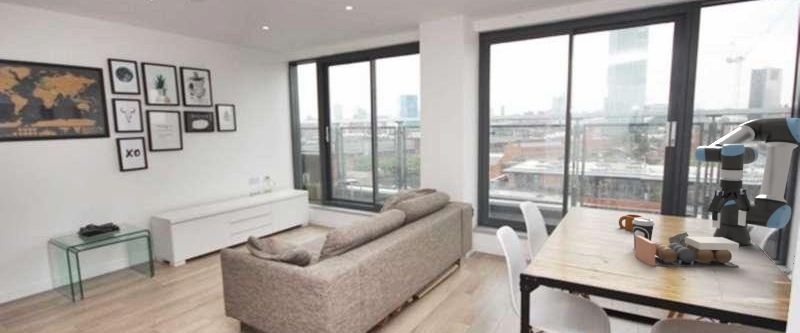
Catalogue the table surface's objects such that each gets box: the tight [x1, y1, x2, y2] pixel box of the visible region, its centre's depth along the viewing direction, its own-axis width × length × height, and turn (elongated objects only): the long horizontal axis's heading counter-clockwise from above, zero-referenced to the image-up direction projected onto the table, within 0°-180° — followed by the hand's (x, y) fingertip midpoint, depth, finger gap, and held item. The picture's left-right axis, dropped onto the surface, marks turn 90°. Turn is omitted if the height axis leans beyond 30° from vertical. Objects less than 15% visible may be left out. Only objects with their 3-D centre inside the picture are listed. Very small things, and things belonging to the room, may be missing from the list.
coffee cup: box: [632, 217, 655, 249], centre depth 196 cm, size 10×10×15 cm
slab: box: [685, 236, 740, 251], centre depth 176 cm, size 16×10×3 cm, turn 85°
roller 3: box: [685, 244, 714, 263], centre depth 177 cm, size 10×6×6 cm, turn 175°
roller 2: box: [667, 243, 695, 263], centre depth 178 cm, size 10×6×6 cm, turn 175°
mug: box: [618, 213, 644, 232], centre depth 231 cm, size 9×12×9 cm
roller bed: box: [654, 255, 739, 268], centre depth 178 cm, size 34×14×2 cm, turn 85°
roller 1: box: [655, 242, 677, 262], centre depth 178 cm, size 10×6×6 cm, turn 175°
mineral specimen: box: [668, 232, 689, 247], centre depth 192 cm, size 10×8×10 cm
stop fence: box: [634, 235, 657, 267], centre depth 179 cm, size 2×13×10 cm, turn 175°
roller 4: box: [710, 250, 733, 263], centre depth 176 cm, size 10×6×6 cm, turn 175°
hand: (728, 226), depth 175 cm, fingers open, 13 cm apart
